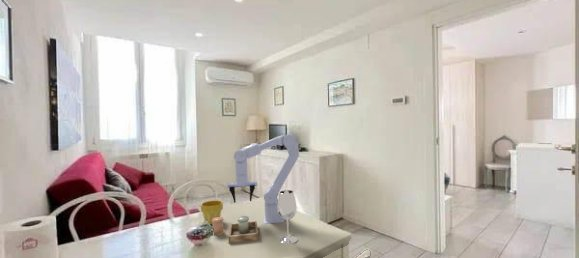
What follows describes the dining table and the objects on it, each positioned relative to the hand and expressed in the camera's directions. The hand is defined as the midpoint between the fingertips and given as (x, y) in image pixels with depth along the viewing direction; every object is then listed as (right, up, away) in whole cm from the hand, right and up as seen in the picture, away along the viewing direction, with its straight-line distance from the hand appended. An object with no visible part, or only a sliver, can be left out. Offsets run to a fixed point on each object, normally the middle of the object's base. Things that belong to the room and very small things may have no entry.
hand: (242, 201), depth 133 cm
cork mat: (-9, -11, -12) cm, 19 cm away
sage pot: (+3, -10, -13) cm, 16 cm away
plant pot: (-15, -11, 0) cm, 18 cm away
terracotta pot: (-9, -10, -13) cm, 19 cm away
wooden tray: (+3, -10, -16) cm, 19 cm away
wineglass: (+23, -10, -22) cm, 33 cm away
